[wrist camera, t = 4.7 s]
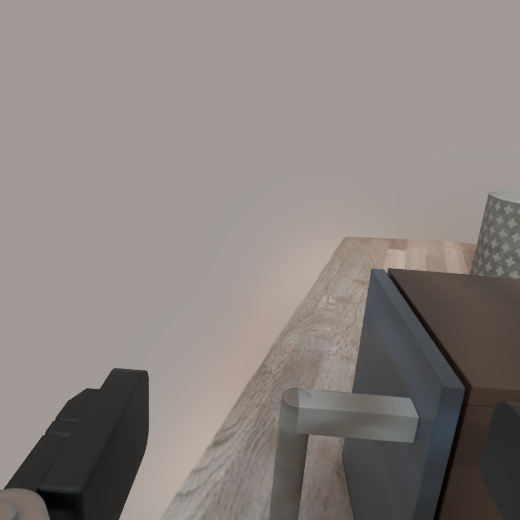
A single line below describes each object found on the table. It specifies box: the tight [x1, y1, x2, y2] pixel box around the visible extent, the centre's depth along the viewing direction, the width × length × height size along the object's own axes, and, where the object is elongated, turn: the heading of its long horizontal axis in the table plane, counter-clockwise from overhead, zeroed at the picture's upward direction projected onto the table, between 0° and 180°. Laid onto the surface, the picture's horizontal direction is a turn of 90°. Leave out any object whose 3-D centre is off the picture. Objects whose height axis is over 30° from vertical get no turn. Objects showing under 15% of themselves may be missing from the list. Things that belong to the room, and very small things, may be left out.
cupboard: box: [387, 268, 520, 520], centre depth 30 cm, size 12×16×18 cm
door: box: [269, 269, 465, 520], centre depth 30 cm, size 8×16×18 cm, turn 178°
